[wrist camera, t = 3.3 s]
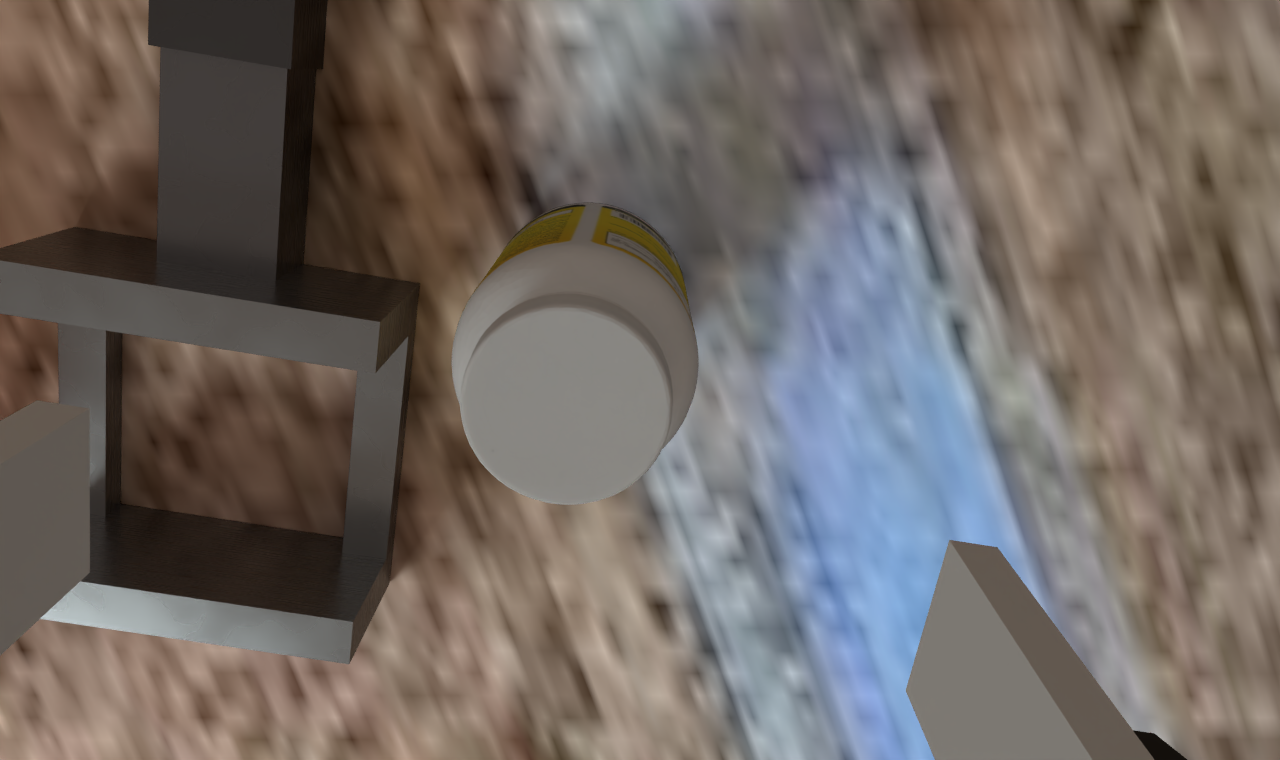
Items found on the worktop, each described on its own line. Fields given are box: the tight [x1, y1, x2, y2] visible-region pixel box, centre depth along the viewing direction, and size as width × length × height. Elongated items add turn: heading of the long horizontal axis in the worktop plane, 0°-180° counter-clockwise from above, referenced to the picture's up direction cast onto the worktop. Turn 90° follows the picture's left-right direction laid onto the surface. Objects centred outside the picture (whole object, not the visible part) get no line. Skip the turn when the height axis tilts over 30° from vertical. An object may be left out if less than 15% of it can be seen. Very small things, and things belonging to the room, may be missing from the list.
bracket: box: [0, 0, 420, 664], centre depth 29 cm, size 22×11×5 cm, turn 171°
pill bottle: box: [452, 203, 698, 505], centre depth 27 cm, size 6×6×11 cm
